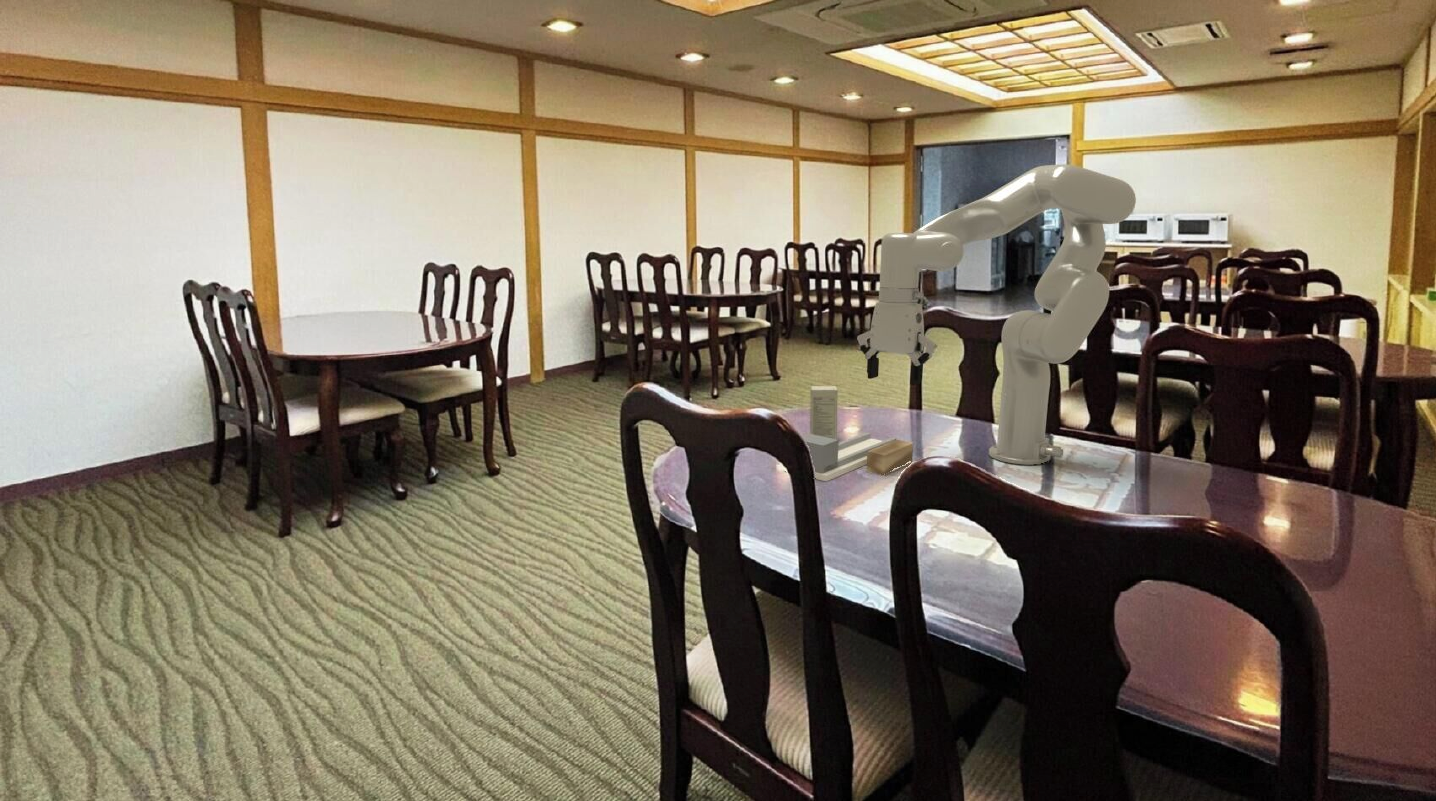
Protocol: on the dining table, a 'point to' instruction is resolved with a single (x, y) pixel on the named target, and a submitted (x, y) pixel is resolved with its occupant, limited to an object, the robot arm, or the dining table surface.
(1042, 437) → the robot arm
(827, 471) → the board
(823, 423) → the skincare box
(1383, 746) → the dining table surface
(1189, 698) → the dining table surface
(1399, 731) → the dining table surface
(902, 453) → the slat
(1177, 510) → the dining table surface
